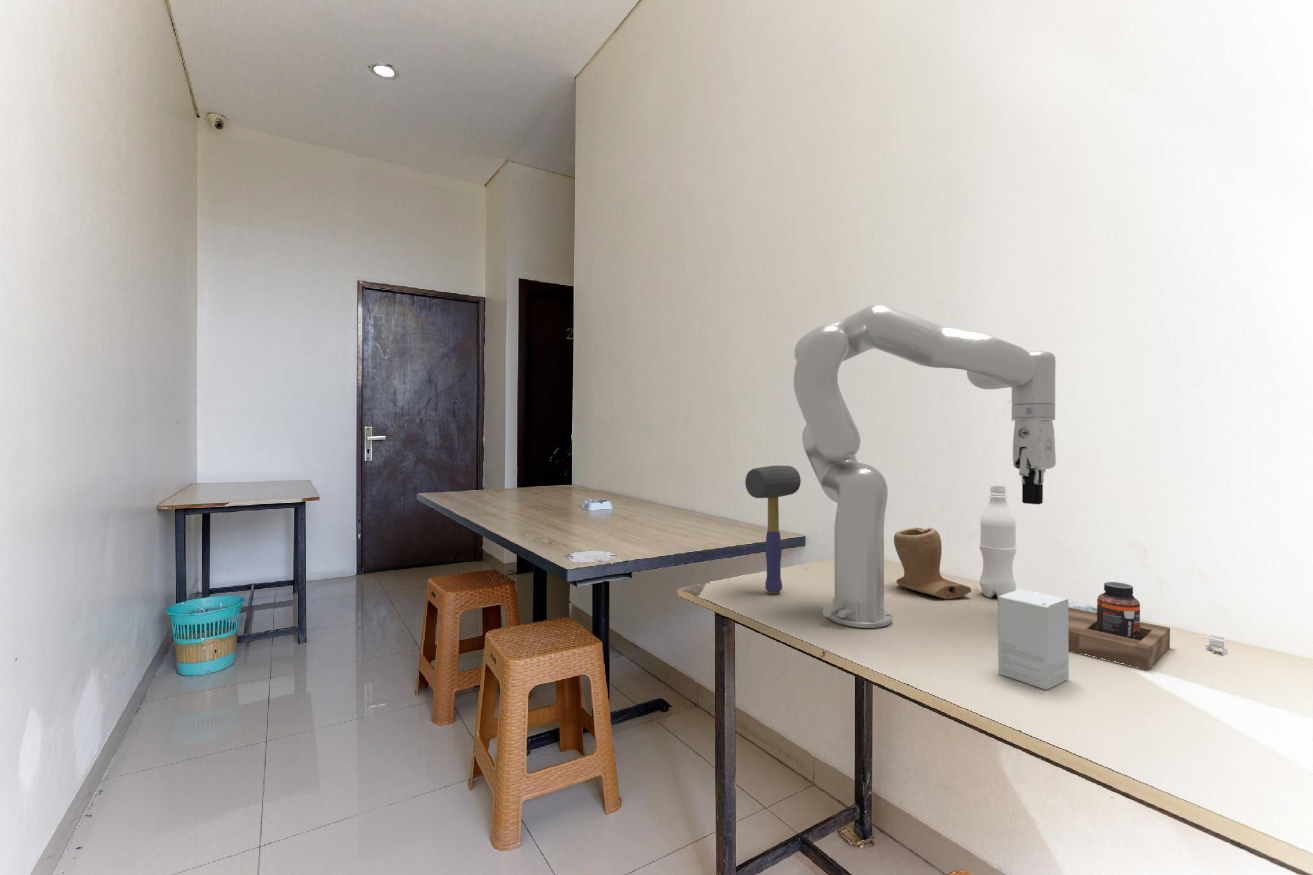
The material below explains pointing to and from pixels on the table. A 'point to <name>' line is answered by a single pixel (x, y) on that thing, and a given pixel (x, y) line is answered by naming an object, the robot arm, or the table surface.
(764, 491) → the rubber mallet
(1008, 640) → the supplement box
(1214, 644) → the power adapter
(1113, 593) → the supplement bottle
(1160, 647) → the socket block
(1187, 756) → the table surface
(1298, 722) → the table surface
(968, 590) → the tan boot-shaped piece
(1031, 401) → the robot arm
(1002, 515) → the water bottle
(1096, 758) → the table surface
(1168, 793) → the table surface
